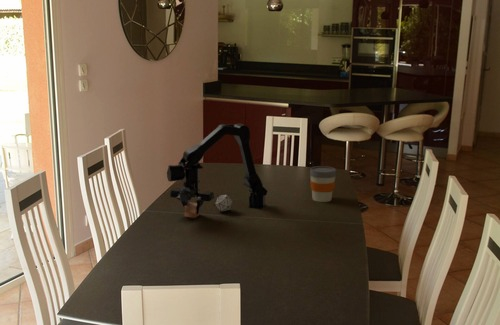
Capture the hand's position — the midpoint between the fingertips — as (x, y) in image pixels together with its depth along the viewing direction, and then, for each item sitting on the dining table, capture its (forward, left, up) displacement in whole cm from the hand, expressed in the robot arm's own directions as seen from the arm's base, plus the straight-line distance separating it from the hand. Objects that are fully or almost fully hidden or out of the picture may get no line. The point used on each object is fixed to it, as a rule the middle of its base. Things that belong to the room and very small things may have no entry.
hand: (192, 213), depth 242 cm
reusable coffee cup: (-49, -43, -1) cm, 65 cm away
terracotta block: (0, 0, -1) cm, 1 cm away
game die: (-11, -10, -1) cm, 15 cm away
